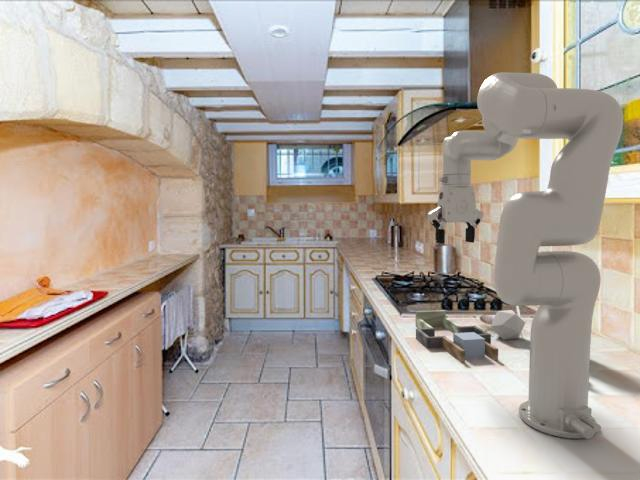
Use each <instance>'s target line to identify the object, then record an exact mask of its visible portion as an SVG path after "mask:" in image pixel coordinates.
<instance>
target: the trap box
mask: <svg viewBox="0 0 640 480" xmlns="http://www.w3.org/2000/svg"><path fill="white" fill-rule="evenodd" d="M446 313H447V311H446V309H440V310H418V311H416V310H415V327H416V328H415V339H416V340H417V341H418V342H420V344H422V346H424V347H425V348H426V349H440V348H442V349H444V351H446V352H448V353H449V354H450V356H452V357H454V358H455V359H456V360H457V361H458V362H460V363H466V358H465V350H463V349H462V348H460V347H459V346H458V345H456V344H455V343H454V342H453V340H452V339H450V338H448V337H447V336H445V335H436V336H435V331H436V330H435V328H434V327H440V326H441V327H444V328H446V330H448V331H450V332H451V333H466V332H475V333H476V334H478V335H480V336H481V337H483V338H484V339H485V356H487V357H488V358H490V359H491V360H492V361H499V348H497V347H496V346H494V345H492V344H491V342H492V340H491V339H492V335H491V333H489V332H487V331H486V330H484V329H482V328H480V327H478V325H477V326H476V325H466V326H462V325H460V324H458V323H457V322H456V321H453V320H452V319H450V318H448V317H447V316H446V315H447V314H446Z"/></svg>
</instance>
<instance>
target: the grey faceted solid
mask: <svg viewBox="0 0 640 480" xmlns="http://www.w3.org/2000/svg"><path fill="white" fill-rule="evenodd" d="M525 326H526V322H525V320H524V319H522V318H521V317H520V316H519V315H518V314H517V313H516V312H515V311H514V310H512V309H510V310H509V309H508V310H506V309H505V310H497V311H496V313H495V315H494V318H493V319H492V322H491V324H490V326H489V327H490V329H492V330H493V331H494V333H496V334H497V336H499V337H500V338H501V339H502V340H503V341H507V340H516V339H519V338H520V336H521V334H522V333H523V332H522V331H523V329H524V328H525Z"/></svg>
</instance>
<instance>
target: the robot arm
mask: <svg viewBox="0 0 640 480" xmlns="http://www.w3.org/2000/svg"><path fill="white" fill-rule="evenodd" d="M476 103H477V104H476V105H477V109H478V112H479V113H480V114H481V117H482V118H481V122H482V126H483V129H484V130H458V131H455V132H453V134H451V135H450V136H448V137H445V138H444V139H443V141H442V172H441V173H442V175H441V177H439V178H438V182H439V183H441V185H442V186H440V188H439V191H438V196H437V205H436V208H435V209H433V210H431V211H429V212H428V213H427V218H428V220H429V222H430V224H431V225H432V226H433V228H434V229H435V243H436V244H440V245H444V244H445V242H446V241H445V239H446V237H445V236H446V235H445V234H446V229H444V227H445V226H446V224H447V223H464V224H465V225H466V228H465V242H466V243H475V238H476V233H475V232H476V229H477V228H478V225H479V224H480V223H481V220H482V218H483V216H484V212H483V211H480V209H477V205H476V203H477V202H476V195H475V194H476V193H475V188H474V186H473V185H472V186H471V182H472V181H471V180H472V178H471V177H472V175H471V174H472V161H486V162H488V161H496V160H499V159H501V158H503V157H505V156H506V155H507V154H510V152H512V151H513V150H514V149H515V147H516V146H517V143H518V140H519V139H523V140H525V139H526V140H530V139H531V140H532V139H535V140H537V139H538V140H543V139H545V140H559V139H560V140H568V142H566V144H565V145H564V146H563V147H562V148H561V150H559V152H558V153H557V155H556V156H555V158H554V160H553V162H552V164H551V167H550V173H549V181H548V185H547V188H546V189H545V190H543V191H542V190H541V191H539V190H538V191H537V190H536V191H535V190H533V191H532V190H531V191H522V192H519V193H516V194H514V195H513V196H512V197H510V198H509V199H508V201H507V202H506V204H504V207H503V208H502V211H501V214H500V219H499V225H498V233H497V241H496V250H495V258H494V259H495V260H494V266H493V267H494V269H493V285H494V291H495V293H496V296H498V298H499V299H500V300H501V302H503V303H505V304H507V305H508V306H513V307H529V306H539V307H538V308H537V310H536V311H535V314H534V315H533V317H532V320H531V324H530V337H529V339H530V340H529V371H528V372H529V373H528V400H526V401H523V402H522V403H521V404H520V405H519V407H518V415H519V417H520V419H521V420H522V421H523V422H524V423H525V424H527V425H528V426H530V427H532V428H533V429H535V430H537V431H539V432H542V433H544V434H547V435H551V436H555V437H559V438H564V439H587V440H588V439H589V440H590V439H592V438H593V437H594V435H595V434H596V433H599V432H600V431H601V429H602V427H601V425H600V424H599V423H598V422H597V420H596V418H594V417H593V415H592V408H591V407H590V406H589V390H590V389H589V387H590V384H589V383H590V365H591V364H590V362H591V361H590V360H591V345H592V344H591V343H592V341H591V340H592V323H593V316H594V312H595V311H594V310H595V306H596V303H597V299H598V295H599V292H600V289H601V281H602V280H601V272H600V269H599V266H598V265H597V263H596V262H595V261H594V260H593V259H592V258H590V257H589V256H588V255H586V254H583V253H581V252H576V251H571V250H570V251H569V250H567V251H566V250H551V251H550V250H549V251H539V250H540V248H541V247H566V246H579V245H585V244H588V243H589V242H591V241H593V240H594V239H595V238H596V236H597V234H598V231H599V229H600V226H601V225H600V224H601V219H602V215H603V209H604V204H605V199H606V193H607V187H608V183H609V175H610V169H611V165H612V162H613V159H614V156H615V152H616V150H617V147H618V145H619V142H620V139H621V136H622V133H623V127H624V114H623V109H622V107H621V106H620V103H619V102H618V101H617V100H616V98H615V97H614V96H612V95H610V94H608V93H606V92H603V91H599V90H595V89H589V88H588V89H587V88H570V87H568V88H566V87H565V88H564V87H563V88H559V87H558V86H557V84H556V82H555V81H554V79H553V78H551V77H550V76H547V75H545V74H541V73H536V72H535V73H534V72H533V73H532V72H504V71H503V72H502V71H501V72H496V73H493V74H491V75H490V76H488V77H487V78H486V79H485V80H484V81H483V83H482V84H481V86H480V88H479V90H478V94H477V99H476ZM436 217H437V219H436Z"/></svg>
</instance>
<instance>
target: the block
mask: <svg viewBox="0 0 640 480" xmlns="http://www.w3.org/2000/svg"><path fill="white" fill-rule="evenodd" d="M452 333H453V332H452ZM452 336H453V337H452V338H453V339H452V342H454V343H455V344H456V345H458V346H459V347H460V348H462V349H463V350H465V359H469V358H470V359H473V358H484V357H486V355H485V339H484V338H483V337H481V336H480V335H478V334H476V333H475V332H466V333H453V335H452Z"/></svg>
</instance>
